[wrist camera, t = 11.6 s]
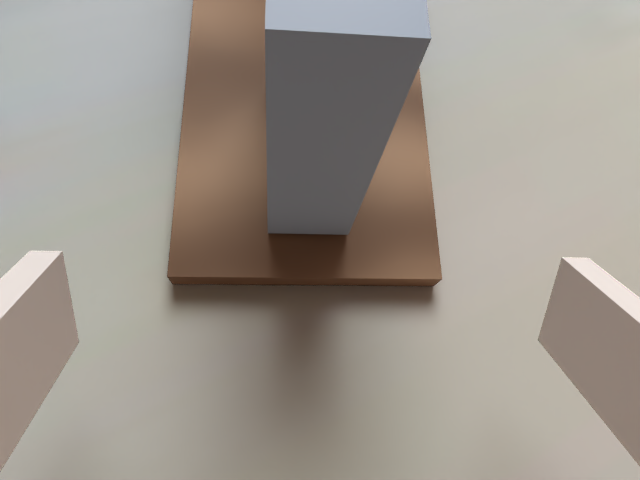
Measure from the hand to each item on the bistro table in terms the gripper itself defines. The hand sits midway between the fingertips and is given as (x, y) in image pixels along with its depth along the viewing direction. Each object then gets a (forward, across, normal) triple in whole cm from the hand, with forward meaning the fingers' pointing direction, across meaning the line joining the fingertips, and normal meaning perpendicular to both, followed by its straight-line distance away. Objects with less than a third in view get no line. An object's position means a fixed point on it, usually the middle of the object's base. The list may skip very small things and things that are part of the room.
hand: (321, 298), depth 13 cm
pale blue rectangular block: (+8, 0, +2) cm, 8 cm away
